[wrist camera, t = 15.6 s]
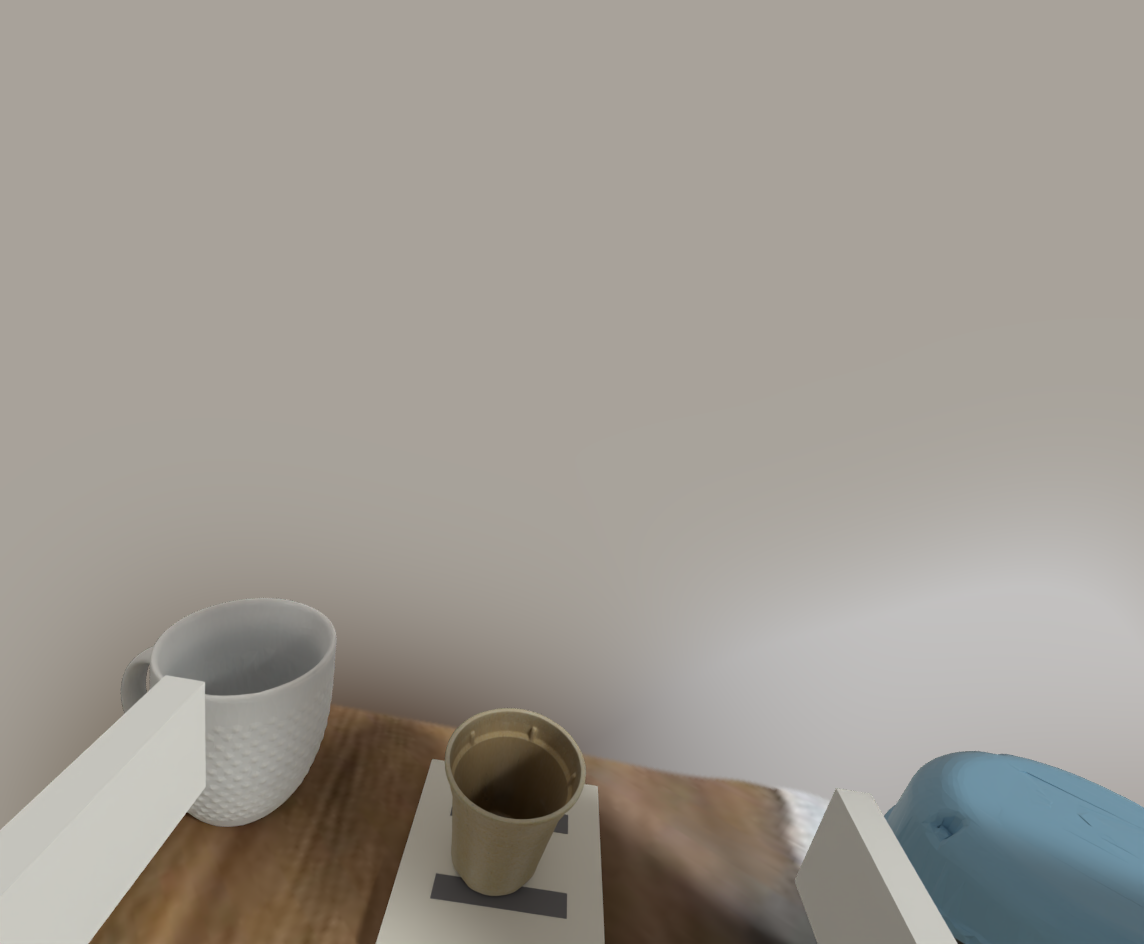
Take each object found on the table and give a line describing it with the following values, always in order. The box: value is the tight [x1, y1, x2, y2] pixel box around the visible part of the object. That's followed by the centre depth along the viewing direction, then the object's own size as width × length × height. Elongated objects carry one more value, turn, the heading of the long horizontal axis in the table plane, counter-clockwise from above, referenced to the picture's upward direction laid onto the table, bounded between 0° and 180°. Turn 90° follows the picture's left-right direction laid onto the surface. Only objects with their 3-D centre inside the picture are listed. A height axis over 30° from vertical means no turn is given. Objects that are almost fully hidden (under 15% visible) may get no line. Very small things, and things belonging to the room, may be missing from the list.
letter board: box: [376, 759, 605, 944], centre depth 40 cm, size 14×14×1 cm
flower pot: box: [445, 708, 586, 896], centre depth 38 cm, size 9×9×9 cm
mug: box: [121, 598, 336, 827], centre depth 40 cm, size 15×11×13 cm
